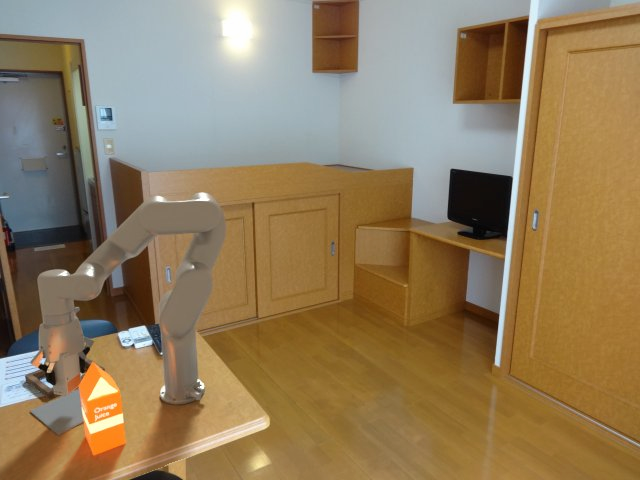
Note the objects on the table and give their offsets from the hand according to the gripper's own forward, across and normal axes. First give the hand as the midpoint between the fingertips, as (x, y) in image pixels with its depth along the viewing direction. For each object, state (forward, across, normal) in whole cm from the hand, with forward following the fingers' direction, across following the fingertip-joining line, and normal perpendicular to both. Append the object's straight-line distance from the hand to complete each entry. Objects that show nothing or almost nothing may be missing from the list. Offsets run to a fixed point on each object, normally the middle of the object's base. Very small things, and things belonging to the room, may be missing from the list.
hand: (66, 377), depth 129 cm
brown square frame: (+10, -7, -18) cm, 22 cm away
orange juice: (+10, +1, +19) cm, 22 cm away
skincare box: (+4, 0, 0) cm, 4 cm away
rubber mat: (+10, 0, 0) cm, 10 cm away
